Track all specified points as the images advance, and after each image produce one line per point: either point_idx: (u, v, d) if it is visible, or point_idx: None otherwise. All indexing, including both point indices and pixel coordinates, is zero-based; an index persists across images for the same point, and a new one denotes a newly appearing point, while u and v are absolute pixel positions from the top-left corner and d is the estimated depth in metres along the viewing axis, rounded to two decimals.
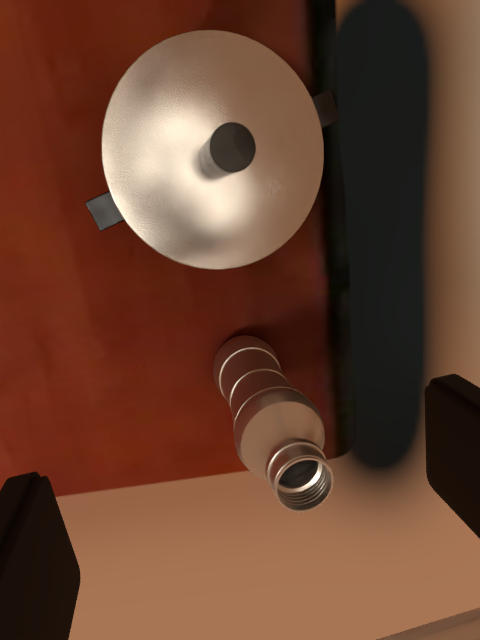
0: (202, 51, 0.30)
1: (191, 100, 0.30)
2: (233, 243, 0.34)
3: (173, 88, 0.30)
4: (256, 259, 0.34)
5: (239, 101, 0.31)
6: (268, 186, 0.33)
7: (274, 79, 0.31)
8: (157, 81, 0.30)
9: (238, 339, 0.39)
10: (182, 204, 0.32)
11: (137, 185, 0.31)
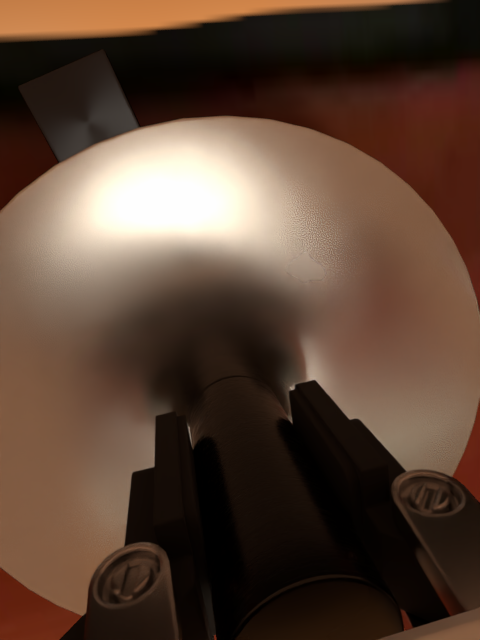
0: None
1: (106, 484, 0.13)
2: (430, 368, 0.14)
3: (85, 522, 0.13)
4: (475, 310, 0.13)
5: (94, 377, 0.12)
6: (303, 289, 0.12)
7: (21, 286, 0.11)
8: (77, 553, 0.13)
9: None
10: None
11: None
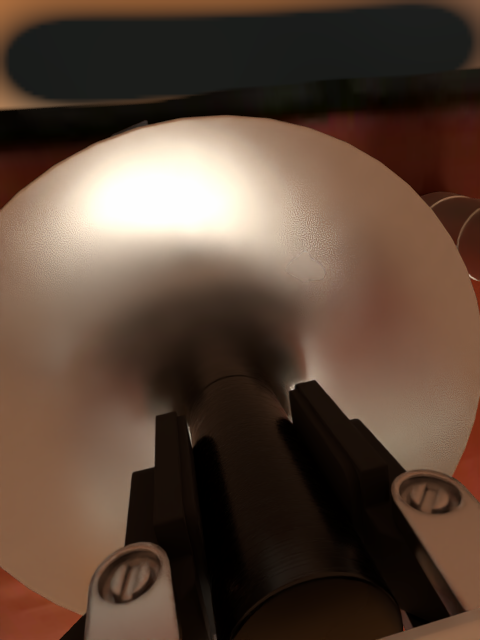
0: None
1: (106, 484, 0.13)
2: (429, 367, 0.14)
3: (85, 522, 0.13)
4: (475, 309, 0.13)
5: (94, 376, 0.12)
6: (303, 288, 0.12)
7: (21, 285, 0.11)
8: (76, 553, 0.13)
9: None
10: None
11: None
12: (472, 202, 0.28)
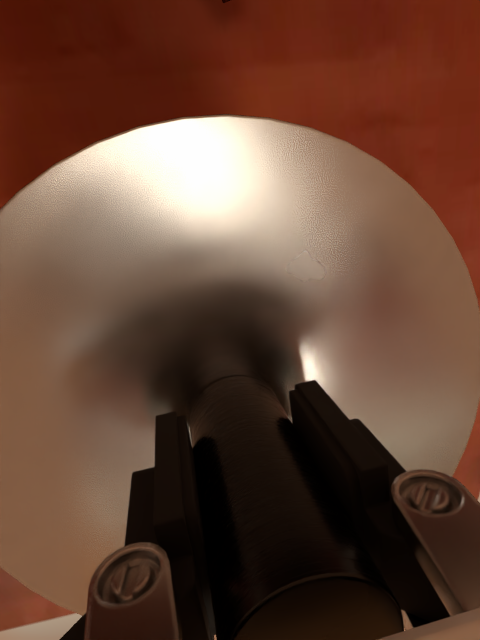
0: None
1: (106, 484, 0.13)
2: (430, 367, 0.14)
3: (85, 522, 0.13)
4: (475, 309, 0.13)
5: (94, 376, 0.12)
6: (303, 288, 0.12)
7: (21, 285, 0.11)
8: (76, 553, 0.13)
9: None
10: None
11: None
12: None
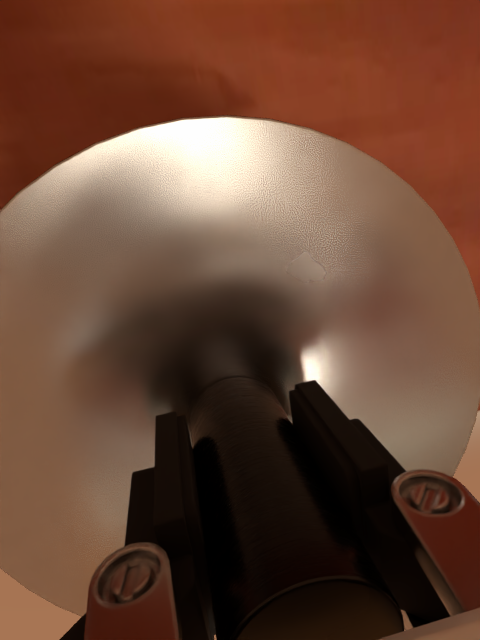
0: None
1: (106, 485, 0.13)
2: (430, 368, 0.13)
3: (85, 523, 0.13)
4: (476, 310, 0.13)
5: (94, 377, 0.12)
6: (303, 289, 0.12)
7: (20, 286, 0.11)
8: (77, 554, 0.13)
9: None
10: None
11: None
12: None
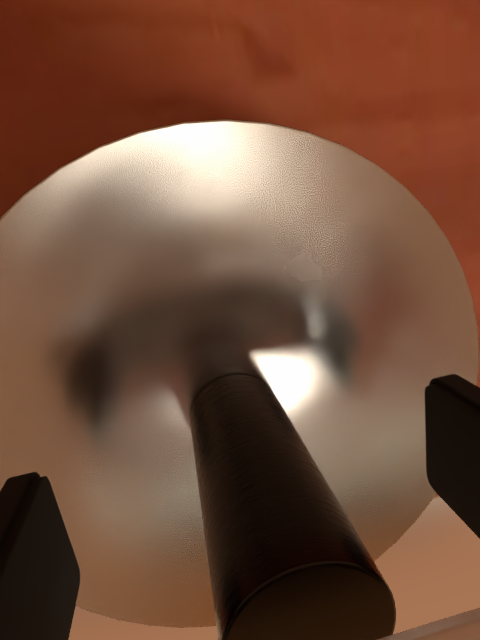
0: None
1: (108, 480, 0.13)
2: (426, 366, 0.14)
3: (87, 517, 0.13)
4: (470, 309, 0.13)
5: (97, 374, 0.12)
6: (301, 288, 0.12)
7: (26, 285, 0.11)
8: (79, 548, 0.13)
9: None
10: (331, 481, 0.14)
11: None
12: None
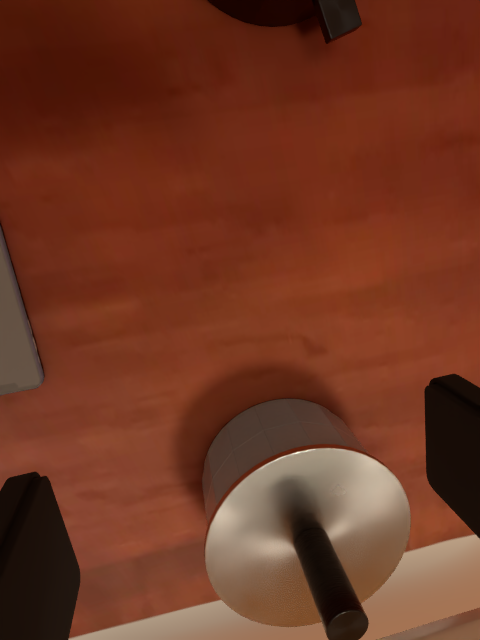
0: (223, 566, 0.32)
1: (263, 569, 0.33)
2: (388, 519, 0.34)
3: (254, 583, 0.33)
4: (405, 497, 0.33)
5: (262, 532, 0.32)
6: (337, 497, 0.32)
7: (241, 505, 0.31)
8: (249, 595, 0.33)
9: None
10: (349, 565, 0.34)
11: None
12: None
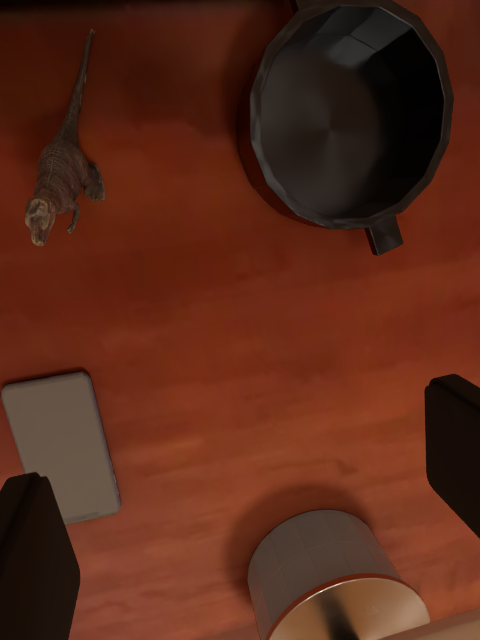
0: None
1: None
2: None
3: None
4: (426, 611, 0.40)
5: None
6: (371, 615, 0.39)
7: (294, 626, 0.37)
8: None
9: None
10: None
11: None
12: None
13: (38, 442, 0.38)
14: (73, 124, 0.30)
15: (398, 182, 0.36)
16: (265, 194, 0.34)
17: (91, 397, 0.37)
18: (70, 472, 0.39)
